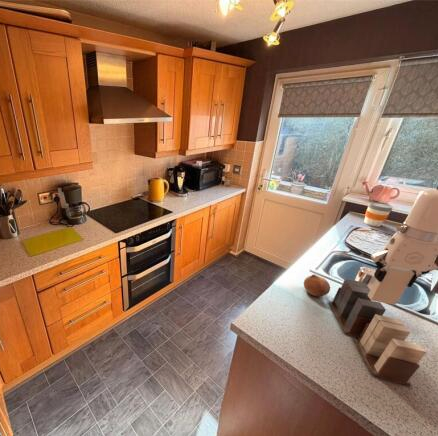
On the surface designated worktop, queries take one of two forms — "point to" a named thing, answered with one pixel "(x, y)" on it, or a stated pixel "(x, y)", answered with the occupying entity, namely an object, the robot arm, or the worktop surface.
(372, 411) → the worktop surface
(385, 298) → the cream book
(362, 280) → the beer glass
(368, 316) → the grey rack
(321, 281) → the onion
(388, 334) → the cream rack
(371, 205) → the reusable coffee cup
